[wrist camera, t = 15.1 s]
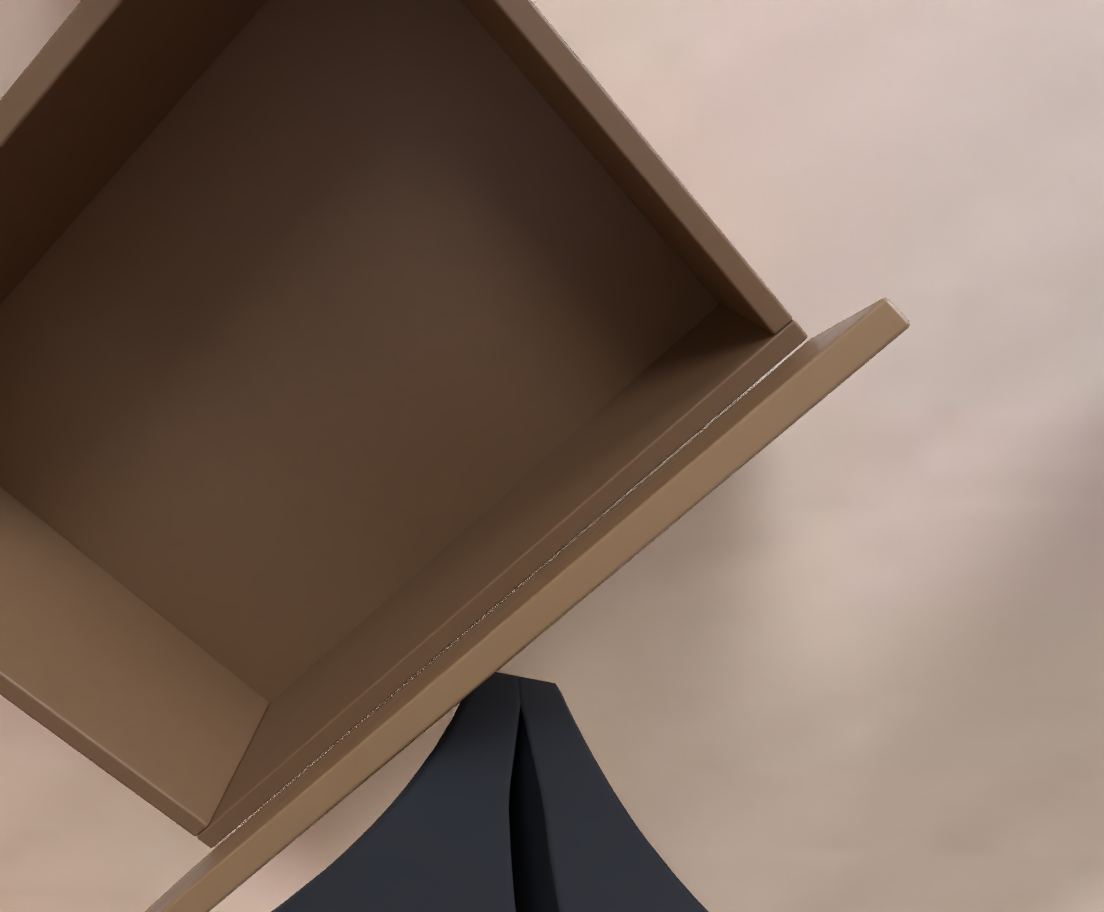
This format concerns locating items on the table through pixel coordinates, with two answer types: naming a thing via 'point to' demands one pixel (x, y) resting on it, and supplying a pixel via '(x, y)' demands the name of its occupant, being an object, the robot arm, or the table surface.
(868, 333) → the flap
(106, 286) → the carton
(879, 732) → the table surface
